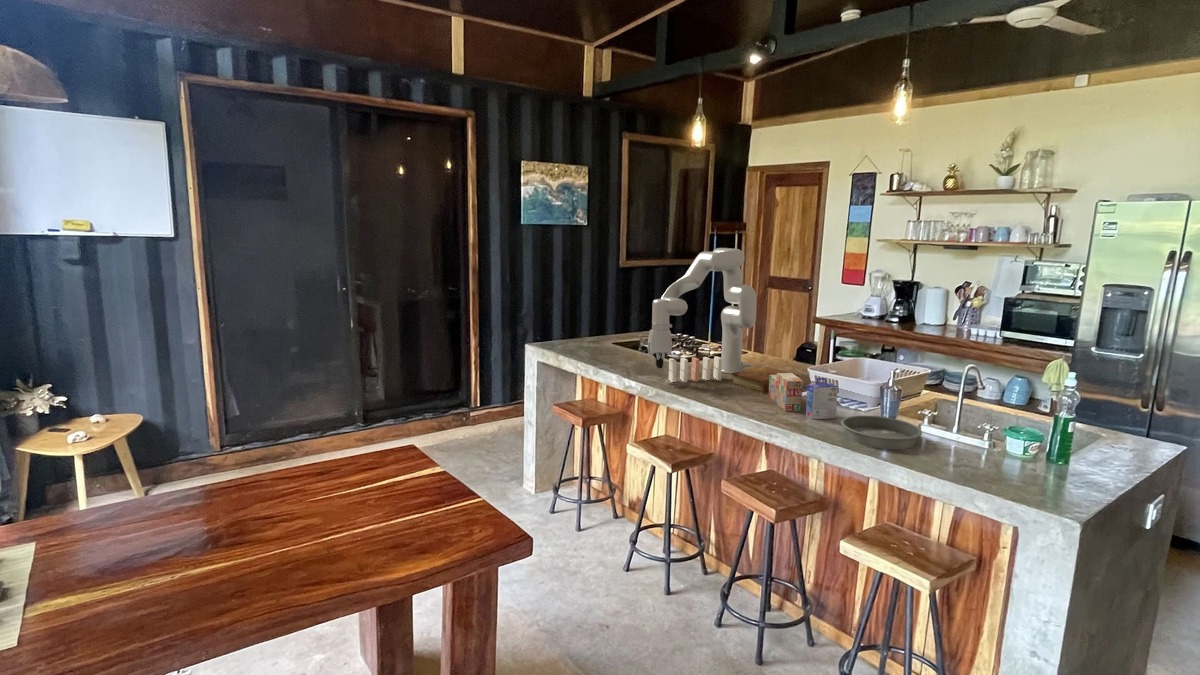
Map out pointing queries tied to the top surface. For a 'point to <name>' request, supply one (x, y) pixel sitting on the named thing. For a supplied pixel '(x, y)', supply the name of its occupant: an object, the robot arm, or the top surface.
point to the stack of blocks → (786, 390)
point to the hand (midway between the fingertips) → (659, 367)
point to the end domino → (717, 367)
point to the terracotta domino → (695, 369)
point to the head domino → (672, 370)
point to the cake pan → (898, 440)
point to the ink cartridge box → (821, 400)
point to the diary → (756, 378)
